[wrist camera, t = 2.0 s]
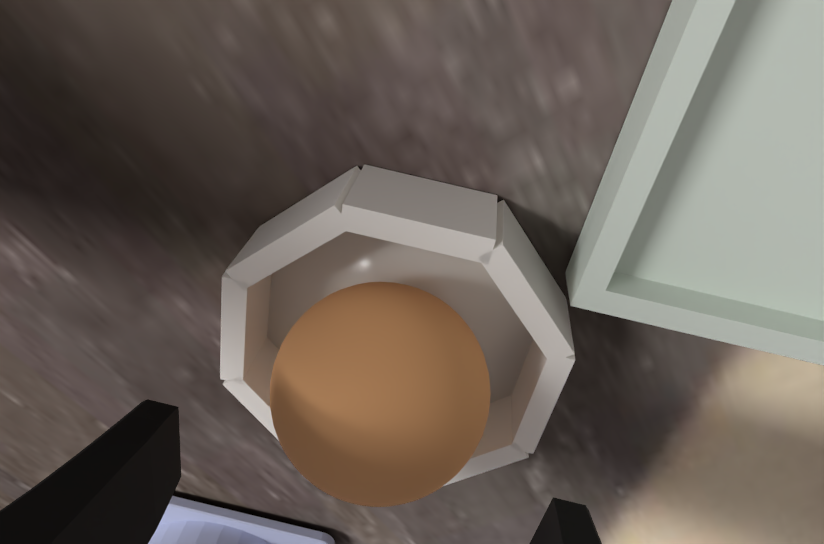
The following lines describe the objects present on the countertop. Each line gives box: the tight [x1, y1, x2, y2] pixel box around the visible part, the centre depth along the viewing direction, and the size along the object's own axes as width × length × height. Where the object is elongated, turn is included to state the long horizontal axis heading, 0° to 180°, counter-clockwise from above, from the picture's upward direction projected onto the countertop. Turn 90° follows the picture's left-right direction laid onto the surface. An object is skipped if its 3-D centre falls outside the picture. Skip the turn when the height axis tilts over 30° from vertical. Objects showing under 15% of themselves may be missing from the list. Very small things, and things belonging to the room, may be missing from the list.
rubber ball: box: [270, 282, 491, 507], centre depth 14 cm, size 5×5×5 cm
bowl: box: [220, 164, 575, 486], centre depth 15 cm, size 8×8×2 cm
